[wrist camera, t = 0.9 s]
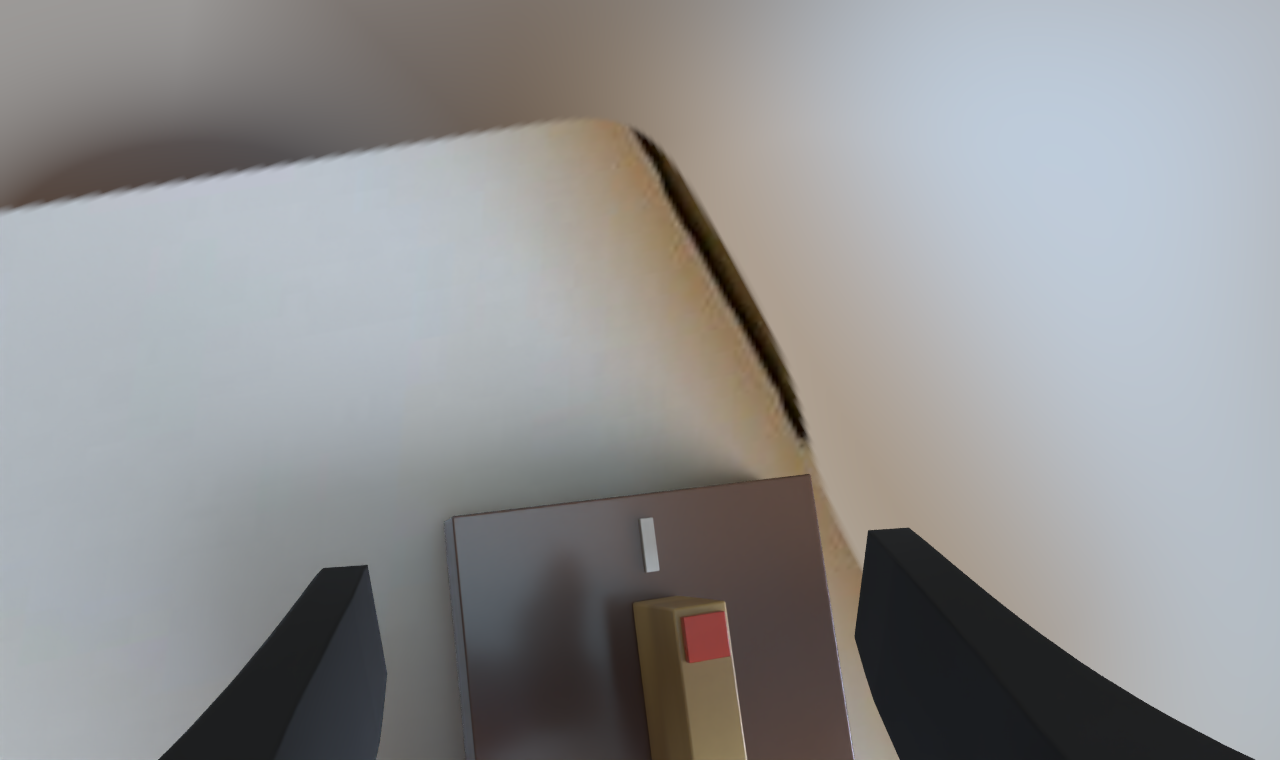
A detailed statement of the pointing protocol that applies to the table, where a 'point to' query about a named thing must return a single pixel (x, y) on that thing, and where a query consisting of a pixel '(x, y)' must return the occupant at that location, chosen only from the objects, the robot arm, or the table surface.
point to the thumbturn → (689, 679)
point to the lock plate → (605, 626)
